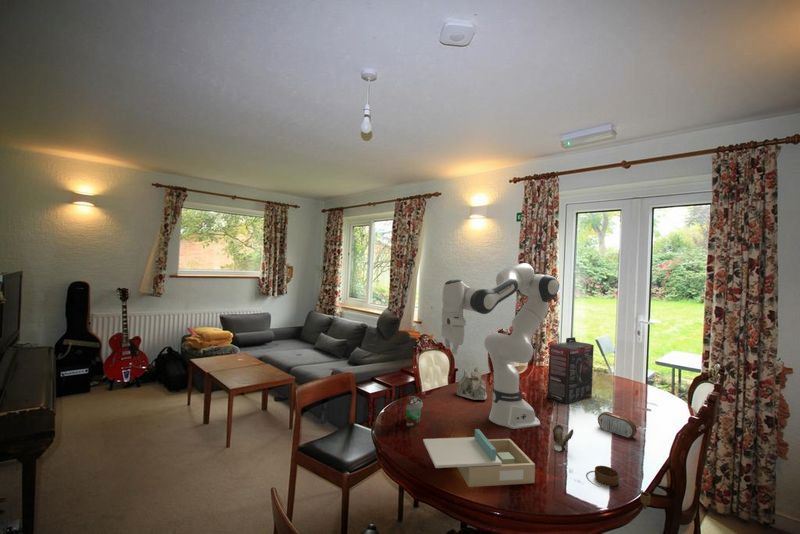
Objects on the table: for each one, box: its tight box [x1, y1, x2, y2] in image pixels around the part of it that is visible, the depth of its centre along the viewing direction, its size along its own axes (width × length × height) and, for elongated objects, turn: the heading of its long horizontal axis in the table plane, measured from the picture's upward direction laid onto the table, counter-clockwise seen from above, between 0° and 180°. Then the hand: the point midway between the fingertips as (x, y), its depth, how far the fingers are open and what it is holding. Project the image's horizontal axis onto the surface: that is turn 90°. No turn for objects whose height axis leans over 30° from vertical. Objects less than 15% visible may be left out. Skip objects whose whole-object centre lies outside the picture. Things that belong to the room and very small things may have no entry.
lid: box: [422, 428, 502, 469], centre depth 125 cm, size 22×18×4 cm
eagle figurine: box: [552, 424, 574, 453], centre depth 144 cm, size 8×7×9 cm
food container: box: [405, 395, 424, 428], centre depth 164 cm, size 12×6×10 cm, turn 168°
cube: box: [497, 452, 515, 464], centre depth 128 cm, size 4×4×4 cm
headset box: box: [546, 336, 595, 405], centre depth 207 cm, size 25×12×33 cm, turn 124°
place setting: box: [585, 465, 652, 510], centre depth 118 cm, size 18×20×6 cm
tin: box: [597, 411, 638, 439], centre depth 161 cm, size 15×3×8 cm, turn 37°
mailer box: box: [456, 438, 536, 488], centre depth 127 cm, size 22×18×7 cm
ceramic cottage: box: [456, 366, 488, 401], centre depth 202 cm, size 16×16×15 cm
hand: (450, 351), depth 156 cm, fingers open, 8 cm apart
